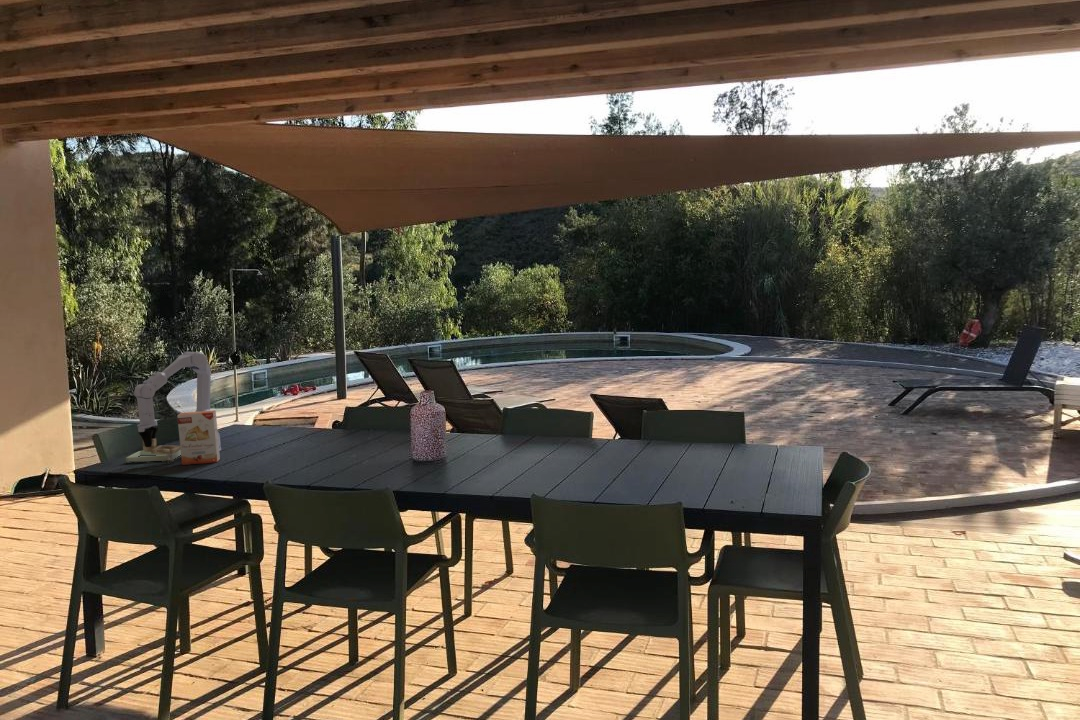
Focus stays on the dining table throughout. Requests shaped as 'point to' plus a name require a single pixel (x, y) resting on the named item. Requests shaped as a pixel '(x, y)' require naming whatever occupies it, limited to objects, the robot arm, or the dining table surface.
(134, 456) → the tray
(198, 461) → the cracker box
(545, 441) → the dining table surface
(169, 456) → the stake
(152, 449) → the tan joined block frame
